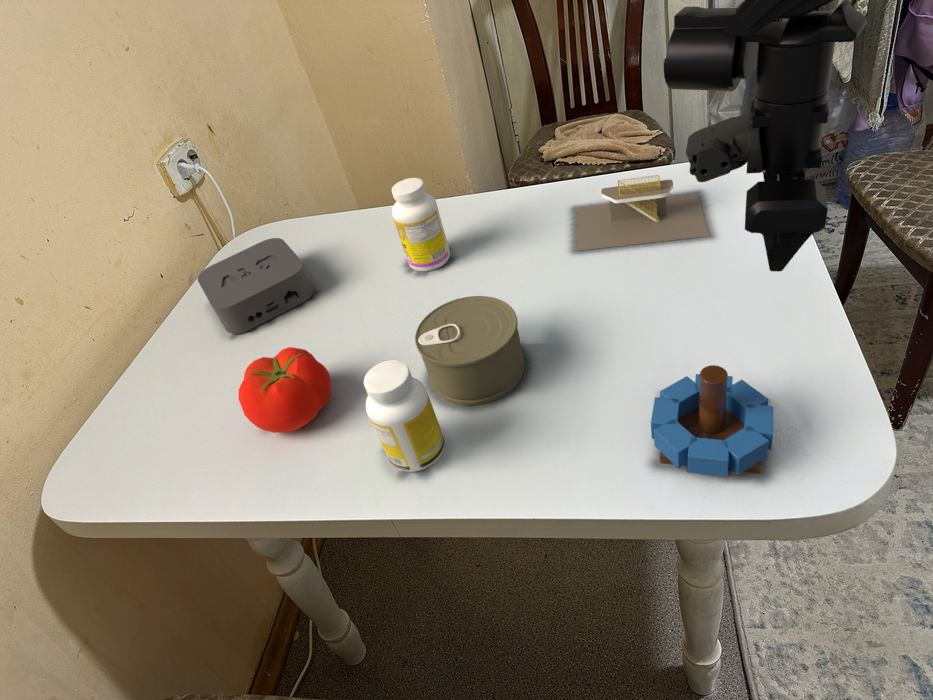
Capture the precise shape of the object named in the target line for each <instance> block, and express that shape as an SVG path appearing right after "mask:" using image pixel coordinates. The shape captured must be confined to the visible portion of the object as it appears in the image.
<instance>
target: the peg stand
mask: <svg viewBox="0 0 933 700" xmlns="http://www.w3.org/2000/svg"><path fill="white" fill-rule="evenodd" d="M699 374H700V397H699V407H698V408H697V409H695V410H693V411H691V412H690V413H688V414H686V415H684V416H683V417H681V418H680V419H679V423H680V424H681V425H682V426H683V427H684V428H685V429H686V430H688V431H689V432H690V433H691V434H692V435H693V436H694V437H696V438H707V439H717V440H725V439H726V438H728V437H730V436H732V435H733V434H735V433H737V432H738V431H740V430H742V429H743V428H744V423H742V422H741V421H740V420H739V419H737V418H736V417H735V416H734V415H732V414H731V413H730V412H729V411H727V410H726V399H727V381H728V376H729V374H728V371H727V370H726V369H725V368H724V367H722V366H721V365H714V364H713V365H712V364H711V365H707V366H704V367H703V368H701V370H700V372H699ZM762 462H763V460H762V461H760V462H758V463H757V464H755V465H754V466H752V467H750V468H749V469H747V470H745V471H744V472H743V473H749V474H756V475H757V474H758V475H761V473H762V466H763V465H762V464H763V463H762ZM659 463H660V464H665V465H674V464H673V463H672V462H671V461H670V460H669V459H668V458H667V457H666V456H665V455H664V454H663V453H662V452H661V451H660V450H659ZM683 466H685V467H688V463H687V464H685V465H683ZM683 466H682V467H683ZM729 471H731V472H734V471H733V470H731V469H730V468H729V467H728V472H729Z"/></svg>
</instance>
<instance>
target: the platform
mask: <svg viewBox="0 0 933 700" xmlns="http://www.w3.org/2000/svg"><path fill="white" fill-rule="evenodd" d="M643 179H644V180H643ZM629 181H630V182H629ZM636 181H637V182H636ZM673 189H674V181H673V180H672V179H669V178H668V179H661V175H660V174H654V175H648V176H647V175H646V176H640V177H639V176H638V177H633V178H632V177H631V178H624V179H618V180H617V186H608V187H603V188H601V189H600V191H601V198H602V199H605V200H607V201H609V203H607V204H599V205H591V206H583V207H576V251H577V252H578V251H579V252H580V251H586V250H587V251H588V250H597V249H605V248H616V247H623V246H624V247H625V246H631V245H633V246H634V245H641V244H642V245H643V244H649V243H657V242H658V243H659V242H667V241H678V240H688V239H694V238H695V239H696V238H704V237H710V232H709V229H708V225H707V221H706V218H705V214H704V210H703V208H702V207H703V206H702V203H701V200H700V196H699V193H698V192H692V193H685V194H677V195H671V196H669V194H670V193H671V191H673Z"/></svg>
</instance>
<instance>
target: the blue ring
mask: <svg viewBox="0 0 933 700" xmlns="http://www.w3.org/2000/svg"><path fill="white" fill-rule="evenodd" d="M733 381H734V379H733V375H728V381H727V399H726V410H727V411H729V412H730V413H731V414H732V415H734V416H735V417H736V418H737V419H739V420H740V421H741V422H742V423H744V428H743V429H742V430H740V431H738V432H737V433H735V434H733V435H732V436H730V437H728V438H726V439H725V440H717V439H707V438H696V437H694V436H693V435H692V434H691V433H690V432H689V431H688V430H686V429H685V428H684V427H683V426H682V425H681V424H680V423H679V419H680V418H681V417H683V416H684V415H686V414H688V413H690V412H691V411H693V410H695V409H697V408H698V407H699V397H700V373H695V380H693V379H691V378H690V377H688V375H687V376H684V377H683V378H681V379H680V380H677V381H676V382H674V383H672V384H670V385H668V386H667V387H665V388H663V389H661V390H659V397H658V396H655V397H654V399H653V400H654V401H653V406H652V412H651V418H650V431H651V433H650V435H651V440H653V443H654V447H655V448H656V449H657V450H658V451H659V452H660V451H661V452H662V453H663V454H664V455H665V456H666V457H667V458H668V459H669V460H670V461H671V462H672V463H673V464H672V465H674V466H675V467H676V468H677V469H680V468H682V467H683V465H685V464H687V463H688V466H687V473H690V474H698V475H706V476H707V475H708V476H715V477H724V478H727V477H728V476H729V470H728V467H729V468H730V469H731V470H733V471H732V472H733V473H735V474H736V475H737V476H739V475H741V474H743V473H745V472H744V471H745V470H747V469H749V468H750V467H752V466H754V465H755V464H757V463H758V462H760V461H762V462H763V460H765V459H767V458H768V454H769V453H768V452H769V451H772V449H773V442H774V441H773V440H774V435H775V434H774V432H775V431H774V406H773V405H769V400H770V398H768V397H767V396H765V395H764V394H763V393H761V392H760V391H758V390H757V389H756V388H754V386H752V385H750V384H749V383H748V382H746V381H745V380H744V379H740V380H738V381H736V382H735V383H733Z"/></svg>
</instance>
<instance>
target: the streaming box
mask: <svg viewBox="0 0 933 700" xmlns="http://www.w3.org/2000/svg"><path fill="white" fill-rule="evenodd" d="M197 282H198V284H199V286H200V288H201V289H202V291H203V293H204V295H205V297H206V299H207V300H208V302H209V304H210V306H211V308H212V309H213V311H214V312H215V314H216V316H217V317H218V319H219V321H220V323H221V324H222V326H223V327H224V330H225V331H226V332H227V333H229V334H234V335H235V334H242V333H245V332H247V331H250V330H252V329H254V328H256V327H257V326H260V325H262V324H263V323H265V322H267V321H269V320H271V319H273V318H276V317H277V316H279V315H281V314H283V313H286V312H287V311H290V310H292V309H293V308H294V307H297V306H299V305H301V304H302V303H304V302H306V301H307V300H309V299H311V297H312V295H313V294H314V292H315V286H314V284H313V283H312V280H311V278H310V276H309V273H308V272H307V269H306V266H305V265H304V263H303V261H302V259H301V258H300V257H299V256H298V255H297V253H296V252H295V251H294V250H293V249H292V248H291V246H289V244H288V243H287V242H286V241H285V240H284V239H282V238H280V237H273V238H272V237H271V238H268V239H264V240H262V241H260V242H257V243H256V244H254V245H251V246H249V247H247V248H245V249H243V250H241V251H239V252H237V253H235V254H232V255H230V256H228V257H226V258H224V259H221V260H220V261H217V262H216V263H213V264H211V265H210V266H208V267H205V269H203V270H202V271H201V272H199V275H198V276H197Z"/></svg>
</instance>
